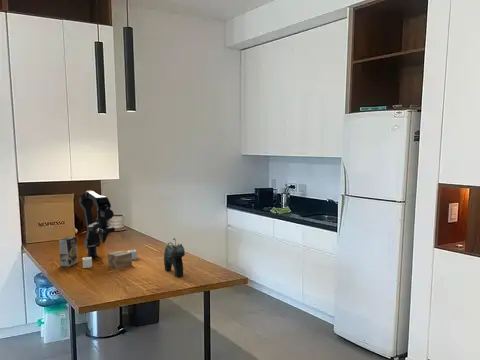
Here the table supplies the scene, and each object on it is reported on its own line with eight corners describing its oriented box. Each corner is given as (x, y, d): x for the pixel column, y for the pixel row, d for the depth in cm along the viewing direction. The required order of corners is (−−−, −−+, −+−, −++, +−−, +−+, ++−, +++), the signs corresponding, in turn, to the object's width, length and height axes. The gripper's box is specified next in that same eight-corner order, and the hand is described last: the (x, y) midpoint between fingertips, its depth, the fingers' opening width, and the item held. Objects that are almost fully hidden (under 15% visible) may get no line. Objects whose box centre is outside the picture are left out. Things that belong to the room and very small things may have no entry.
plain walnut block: (108, 265, 262) (107, 253, 261) (122, 262, 269) (122, 250, 268) (117, 268, 255) (116, 256, 254) (132, 265, 262) (131, 252, 261)
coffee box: (69, 266, 261) (68, 239, 260) (60, 266, 263) (58, 239, 261) (78, 262, 270) (77, 236, 269) (68, 262, 272) (67, 236, 270)
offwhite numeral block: (82, 266, 262) (82, 257, 262) (91, 265, 264) (91, 256, 264) (83, 268, 258) (82, 259, 257) (92, 267, 259) (91, 258, 259)
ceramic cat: (186, 277, 235) (185, 240, 234) (175, 279, 232) (174, 241, 230) (171, 268, 252) (170, 234, 251) (160, 270, 249) (159, 235, 247)
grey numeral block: (127, 258, 278) (127, 250, 278) (135, 257, 280) (135, 249, 280) (128, 260, 274) (128, 251, 273) (136, 259, 276) (136, 251, 275)
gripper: (82, 217, 268) (83, 242, 270) (97, 220, 256) (99, 247, 257) (99, 215, 276) (100, 239, 278) (115, 218, 264) (116, 243, 265)
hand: (103, 242), depth 269 cm, fingers closed
